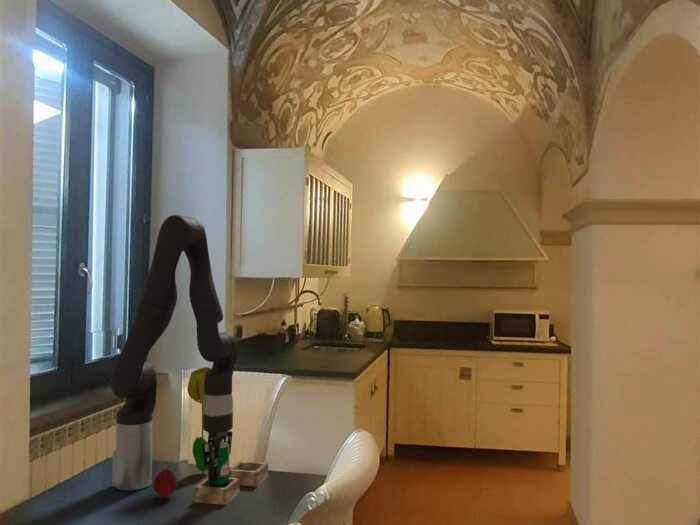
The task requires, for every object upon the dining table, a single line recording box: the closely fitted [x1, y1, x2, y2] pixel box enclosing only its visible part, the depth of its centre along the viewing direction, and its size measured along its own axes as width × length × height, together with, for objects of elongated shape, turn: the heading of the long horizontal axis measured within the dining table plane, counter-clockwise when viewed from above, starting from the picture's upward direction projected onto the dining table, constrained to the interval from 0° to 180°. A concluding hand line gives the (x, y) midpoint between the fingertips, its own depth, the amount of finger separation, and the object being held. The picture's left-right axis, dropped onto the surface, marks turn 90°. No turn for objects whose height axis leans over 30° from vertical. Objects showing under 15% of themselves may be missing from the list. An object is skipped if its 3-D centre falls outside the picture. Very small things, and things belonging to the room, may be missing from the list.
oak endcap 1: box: [194, 477, 241, 506], centre depth 157 cm, size 8×8×4 cm
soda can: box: [209, 441, 230, 488], centre depth 157 cm, size 5×5×12 cm
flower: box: [187, 366, 212, 474], centre depth 176 cm, size 9×8×30 cm
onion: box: [152, 465, 178, 499], centre depth 156 cm, size 6×6×8 cm
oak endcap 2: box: [229, 460, 269, 487], centre depth 170 cm, size 8×8×4 cm
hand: (217, 477), depth 157 cm, fingers closed on soda can, 5 cm apart
